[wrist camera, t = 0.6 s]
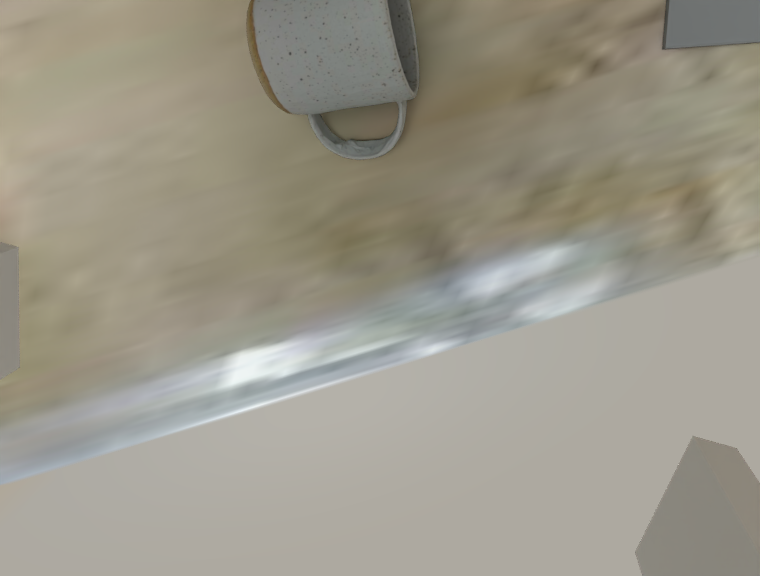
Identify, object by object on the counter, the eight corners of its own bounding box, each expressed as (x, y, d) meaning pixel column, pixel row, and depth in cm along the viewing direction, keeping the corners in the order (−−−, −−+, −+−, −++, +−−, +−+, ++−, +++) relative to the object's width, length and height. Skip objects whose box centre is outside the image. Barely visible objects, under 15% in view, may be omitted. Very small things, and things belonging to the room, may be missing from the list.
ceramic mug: (273, -5, 36) (220, -23, 29) (403, -41, 34) (380, -71, 27) (315, 167, 39) (276, 188, 32) (436, 142, 37) (423, 159, 30)
